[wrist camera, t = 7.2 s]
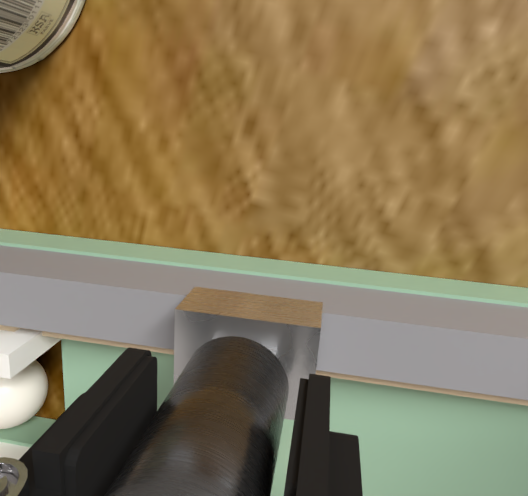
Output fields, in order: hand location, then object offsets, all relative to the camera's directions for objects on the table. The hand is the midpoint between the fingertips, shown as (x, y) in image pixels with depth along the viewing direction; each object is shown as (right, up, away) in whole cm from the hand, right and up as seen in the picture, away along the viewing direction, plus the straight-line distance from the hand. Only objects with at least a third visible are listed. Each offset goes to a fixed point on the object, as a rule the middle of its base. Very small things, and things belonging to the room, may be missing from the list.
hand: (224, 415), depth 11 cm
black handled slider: (+1, -1, +8) cm, 8 cm away
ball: (-12, -3, +11) cm, 16 cm away
